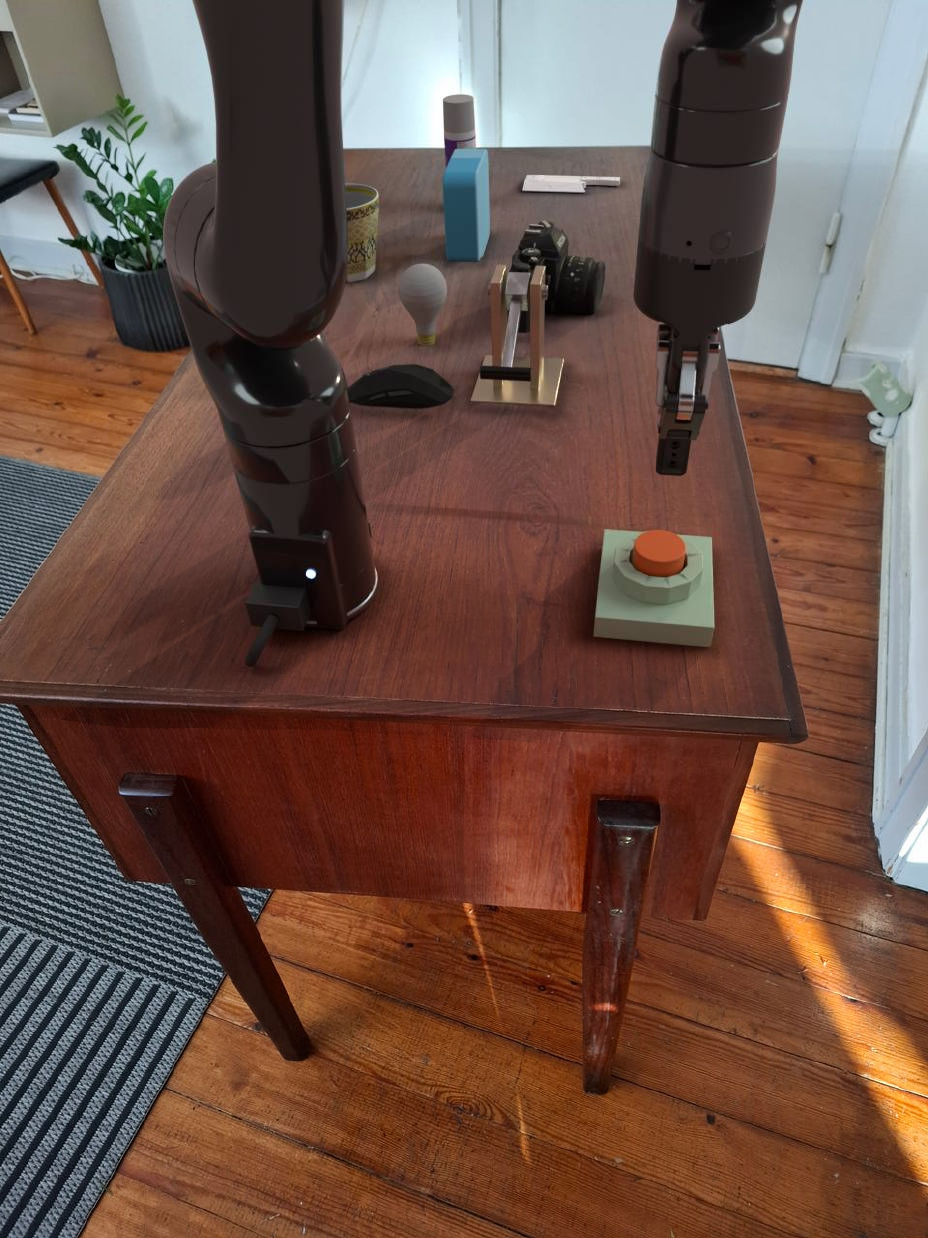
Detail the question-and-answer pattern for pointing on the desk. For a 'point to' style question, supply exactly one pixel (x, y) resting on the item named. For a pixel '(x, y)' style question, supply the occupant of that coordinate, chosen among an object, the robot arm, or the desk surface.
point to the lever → (512, 331)
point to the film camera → (559, 272)
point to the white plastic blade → (565, 183)
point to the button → (659, 553)
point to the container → (458, 124)
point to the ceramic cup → (361, 230)
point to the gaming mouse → (401, 388)
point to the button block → (655, 595)
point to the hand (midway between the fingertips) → (670, 469)
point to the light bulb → (423, 298)
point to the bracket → (543, 369)
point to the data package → (466, 204)
